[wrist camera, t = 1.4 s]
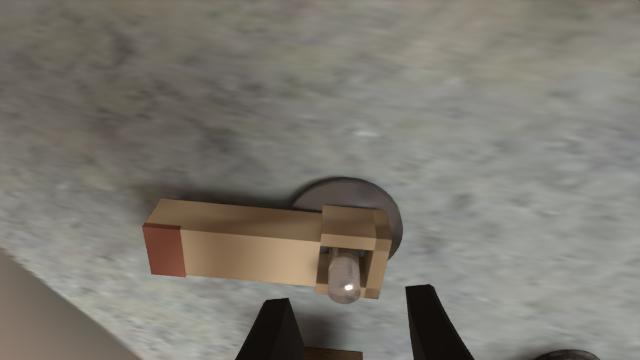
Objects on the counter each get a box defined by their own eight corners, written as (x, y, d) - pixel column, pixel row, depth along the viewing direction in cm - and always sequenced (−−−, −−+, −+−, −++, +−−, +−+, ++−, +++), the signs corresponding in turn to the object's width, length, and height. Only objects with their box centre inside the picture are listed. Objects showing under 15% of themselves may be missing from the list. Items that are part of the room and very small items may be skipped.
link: (387, 210, 20) (392, 241, 18) (374, 268, 22) (378, 300, 20) (159, 190, 19) (140, 218, 18) (168, 249, 21) (152, 280, 20)
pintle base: (288, 172, 20) (276, 232, 16) (412, 183, 20) (429, 246, 16) (283, 262, 23) (272, 331, 19) (390, 272, 23) (400, 342, 19)
